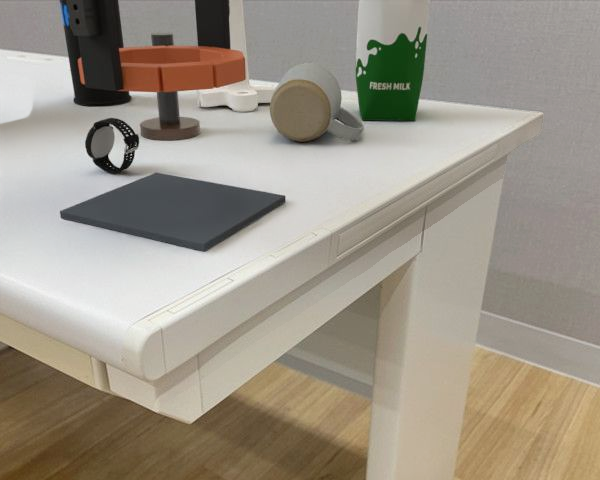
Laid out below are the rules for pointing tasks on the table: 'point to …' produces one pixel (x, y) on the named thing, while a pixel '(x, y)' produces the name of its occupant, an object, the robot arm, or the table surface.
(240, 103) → the white footed stand
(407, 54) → the milk carton
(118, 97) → the aerosol can
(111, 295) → the table surface
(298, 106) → the ceramic mug
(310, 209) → the table surface
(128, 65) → the ring
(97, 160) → the smartwatch
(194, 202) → the mat
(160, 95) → the post
